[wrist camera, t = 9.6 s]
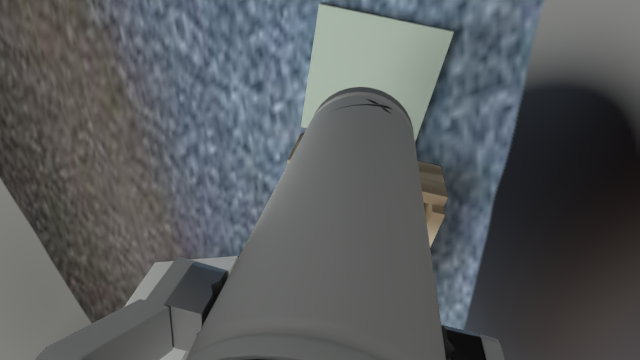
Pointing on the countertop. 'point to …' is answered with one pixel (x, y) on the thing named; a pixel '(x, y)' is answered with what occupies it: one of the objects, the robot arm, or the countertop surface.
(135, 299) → the milk
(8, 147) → the countertop surface
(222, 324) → the travel mug
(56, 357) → the robot arm
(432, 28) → the sage mat
